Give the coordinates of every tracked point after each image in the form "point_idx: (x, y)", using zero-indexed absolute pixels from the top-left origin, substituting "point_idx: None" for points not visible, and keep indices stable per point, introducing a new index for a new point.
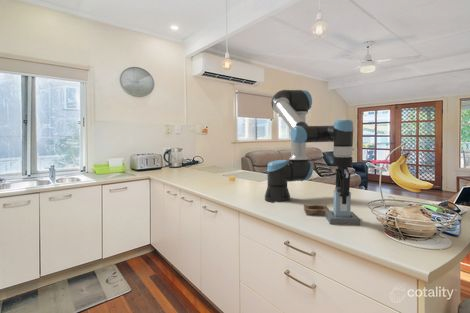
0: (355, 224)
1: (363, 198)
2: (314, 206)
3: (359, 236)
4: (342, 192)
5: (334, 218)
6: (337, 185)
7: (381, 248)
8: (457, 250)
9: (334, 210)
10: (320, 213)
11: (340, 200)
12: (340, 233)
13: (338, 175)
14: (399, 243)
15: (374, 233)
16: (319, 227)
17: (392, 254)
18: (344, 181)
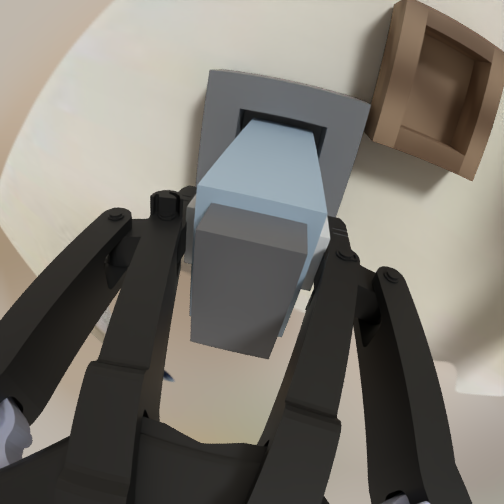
0: None
1: (479, 374)
2: (480, 103)
3: (104, 156)
4: (113, 228)
5: (207, 95)
6: (344, 309)
7: (41, 182)
8: None
9: (283, 134)
10: (383, 80)
11: None
12: (126, 88)
13: (258, 472)
14: None
15: None
16: (202, 8)
17: (23, 191)
18: (4, 328)
